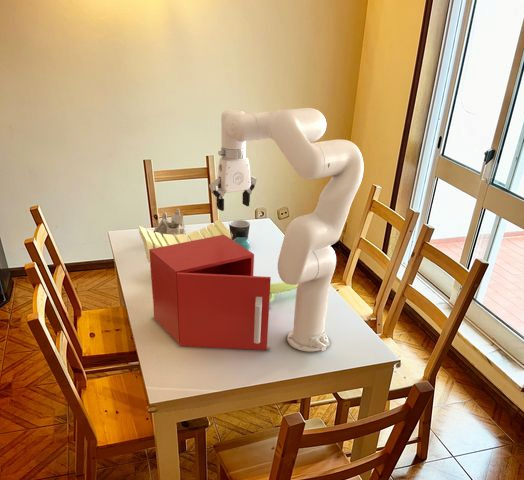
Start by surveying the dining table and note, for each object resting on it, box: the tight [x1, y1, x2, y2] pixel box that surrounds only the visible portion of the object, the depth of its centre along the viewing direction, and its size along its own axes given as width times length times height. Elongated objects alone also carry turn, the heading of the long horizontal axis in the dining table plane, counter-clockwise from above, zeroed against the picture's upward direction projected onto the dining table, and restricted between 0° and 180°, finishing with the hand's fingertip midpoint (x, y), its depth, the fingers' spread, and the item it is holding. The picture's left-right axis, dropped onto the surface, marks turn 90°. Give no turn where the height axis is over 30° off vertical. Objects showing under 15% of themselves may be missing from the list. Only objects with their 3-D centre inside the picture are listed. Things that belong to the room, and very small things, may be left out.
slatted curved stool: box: [138, 218, 231, 263], centre depth 202 cm, size 30×16×18 cm, turn 111°
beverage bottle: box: [233, 228, 251, 251], centre depth 199 cm, size 6×7×20 cm
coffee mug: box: [228, 219, 251, 240], centre depth 231 cm, size 12×9×10 cm
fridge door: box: [177, 273, 272, 351], centre depth 157 cm, size 7×26×24 cm, turn 89°
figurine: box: [269, 281, 298, 303], centre depth 192 cm, size 18×27×6 cm
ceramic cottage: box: [153, 207, 187, 244], centre depth 226 cm, size 16×16×15 cm
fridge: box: [149, 235, 255, 345], centre depth 173 cm, size 18×26×24 cm
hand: (233, 207), depth 180 cm, fingers open, 9 cm apart
